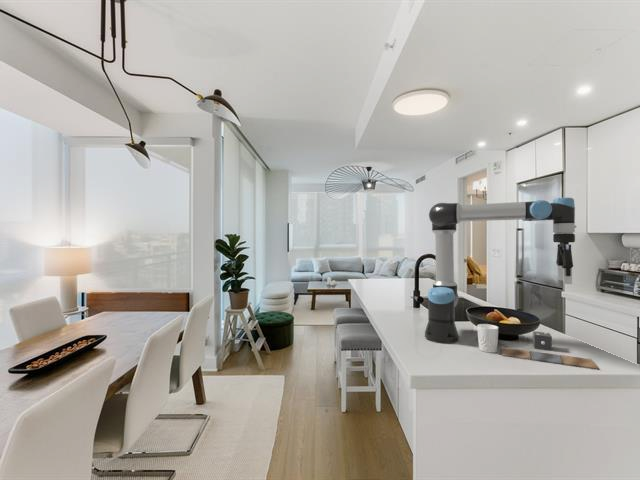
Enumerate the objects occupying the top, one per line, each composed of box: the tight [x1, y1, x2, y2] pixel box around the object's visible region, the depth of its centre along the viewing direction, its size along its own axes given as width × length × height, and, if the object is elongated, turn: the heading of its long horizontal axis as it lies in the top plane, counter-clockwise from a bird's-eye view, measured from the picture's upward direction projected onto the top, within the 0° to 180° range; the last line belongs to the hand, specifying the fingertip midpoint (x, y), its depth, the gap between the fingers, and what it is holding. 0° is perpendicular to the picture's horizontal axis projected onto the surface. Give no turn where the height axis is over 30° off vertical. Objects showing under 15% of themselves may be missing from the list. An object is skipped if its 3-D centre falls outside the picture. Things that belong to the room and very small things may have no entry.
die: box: [532, 330, 553, 352], centre depth 136 cm, size 6×6×6 cm
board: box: [501, 346, 600, 371], centre depth 124 cm, size 30×10×1 cm, turn 62°
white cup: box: [476, 323, 499, 354], centre depth 134 cm, size 8×8×10 cm
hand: (564, 282), depth 138 cm, fingers open, 13 cm apart
